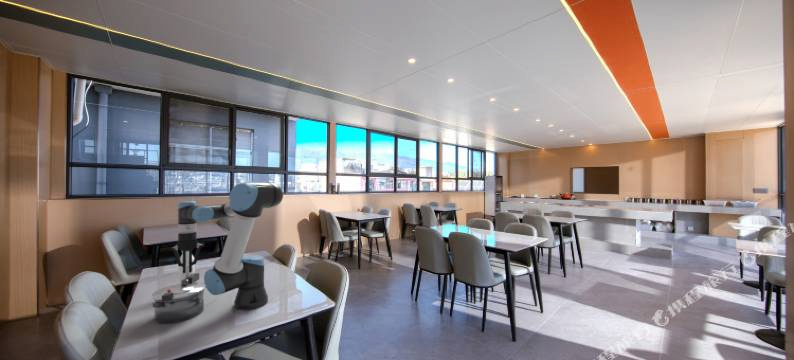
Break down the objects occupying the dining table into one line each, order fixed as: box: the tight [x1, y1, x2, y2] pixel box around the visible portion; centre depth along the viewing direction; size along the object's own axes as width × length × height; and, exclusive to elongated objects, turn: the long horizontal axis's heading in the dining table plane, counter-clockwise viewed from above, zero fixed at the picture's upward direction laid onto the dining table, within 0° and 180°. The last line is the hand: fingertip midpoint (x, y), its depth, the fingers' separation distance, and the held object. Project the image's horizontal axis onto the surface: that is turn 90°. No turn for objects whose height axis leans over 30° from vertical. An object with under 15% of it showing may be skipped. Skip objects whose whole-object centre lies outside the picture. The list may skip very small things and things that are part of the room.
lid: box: [151, 272, 207, 302], centre depth 136 cm, size 28×20×4 cm
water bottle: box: [178, 249, 196, 284], centre depth 161 cm, size 7×7×25 cm
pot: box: [152, 282, 205, 325], centre depth 136 cm, size 26×19×10 cm
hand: (187, 279), depth 146 cm, fingers closed
